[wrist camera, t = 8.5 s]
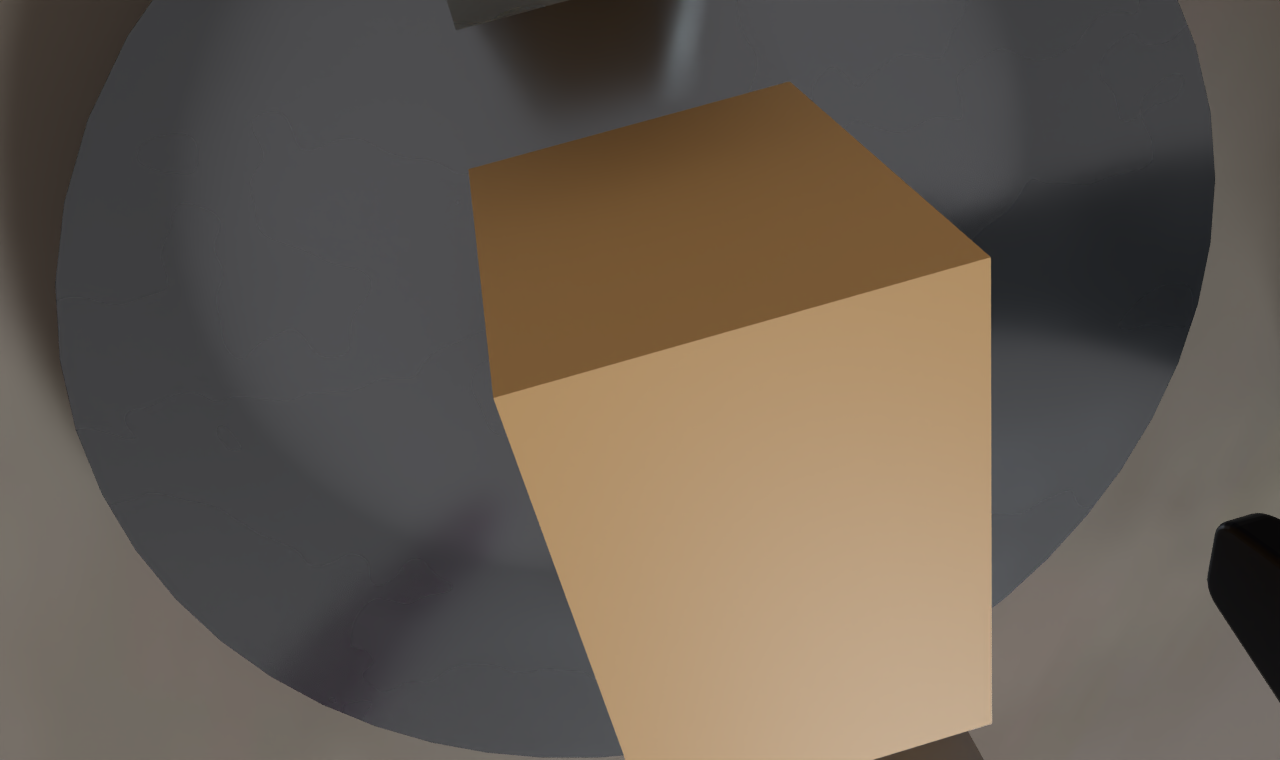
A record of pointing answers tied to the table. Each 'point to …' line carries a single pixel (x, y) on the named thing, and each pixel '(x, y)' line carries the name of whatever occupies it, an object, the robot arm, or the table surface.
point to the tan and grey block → (751, 430)
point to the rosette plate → (454, 315)
